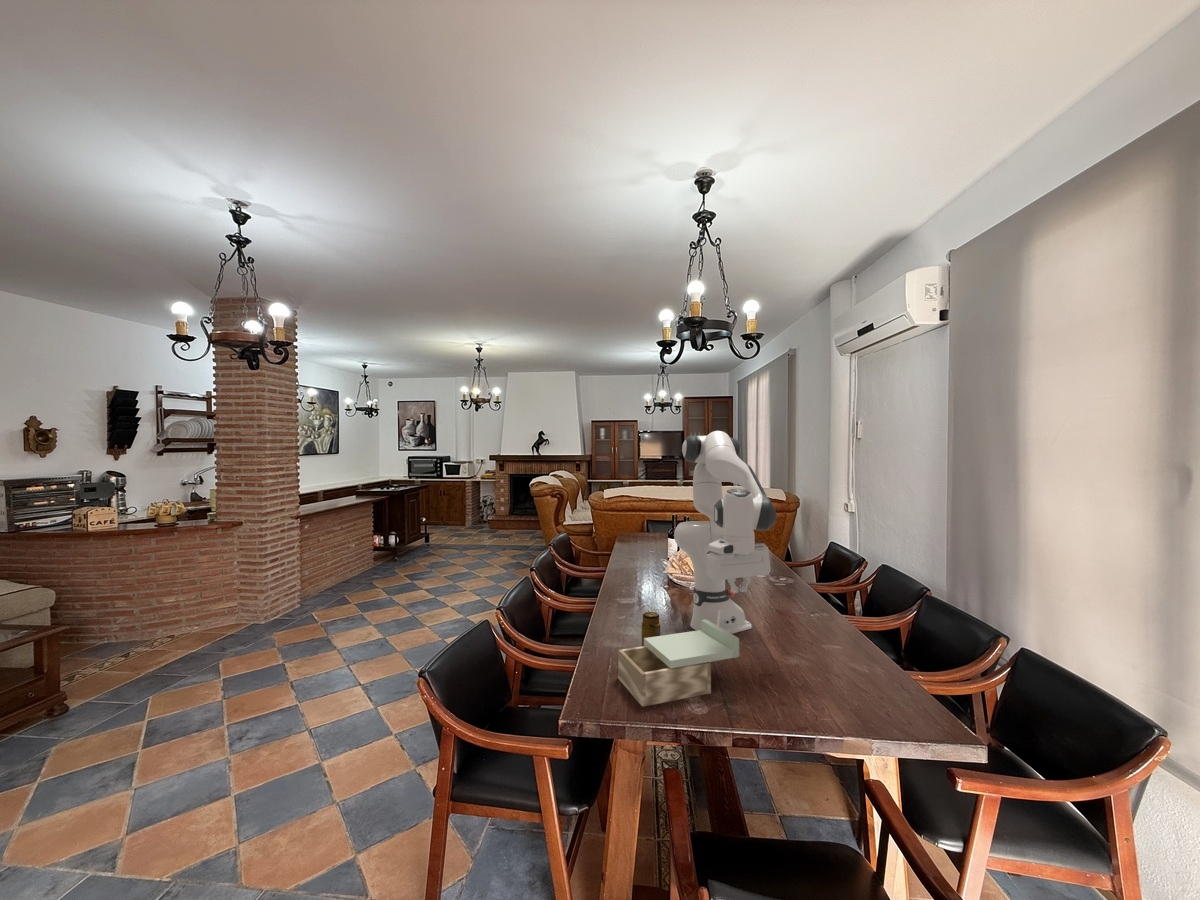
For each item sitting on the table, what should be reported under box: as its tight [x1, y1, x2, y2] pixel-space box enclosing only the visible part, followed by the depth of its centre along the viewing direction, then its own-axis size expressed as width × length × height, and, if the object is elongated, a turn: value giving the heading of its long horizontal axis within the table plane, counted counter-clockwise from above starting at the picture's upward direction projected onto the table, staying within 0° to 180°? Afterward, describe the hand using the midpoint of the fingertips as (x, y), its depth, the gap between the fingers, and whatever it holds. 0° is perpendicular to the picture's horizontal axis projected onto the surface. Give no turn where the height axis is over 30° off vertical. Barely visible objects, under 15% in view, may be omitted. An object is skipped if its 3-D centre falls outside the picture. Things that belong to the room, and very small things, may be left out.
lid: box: [644, 619, 740, 669], centre depth 131 cm, size 21×16×5 cm
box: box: [617, 645, 712, 707], centre depth 128 cm, size 20×16×8 cm
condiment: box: [641, 611, 662, 647], centre depth 150 cm, size 7×8×12 cm
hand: (739, 592), depth 137 cm, fingers closed
